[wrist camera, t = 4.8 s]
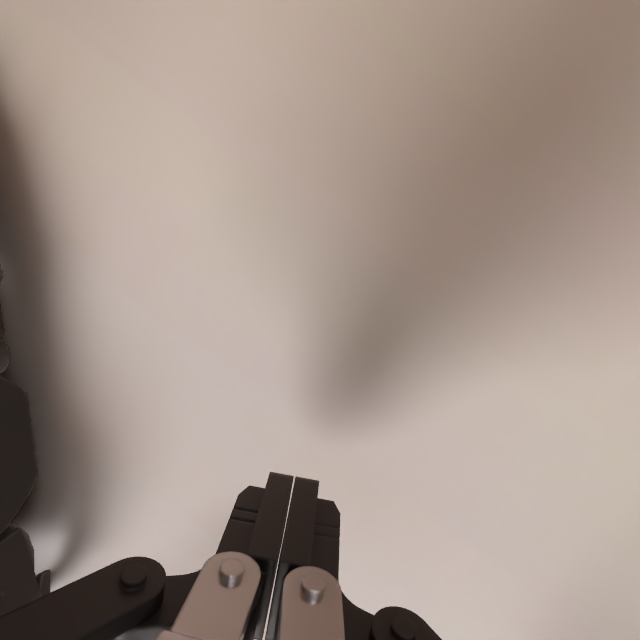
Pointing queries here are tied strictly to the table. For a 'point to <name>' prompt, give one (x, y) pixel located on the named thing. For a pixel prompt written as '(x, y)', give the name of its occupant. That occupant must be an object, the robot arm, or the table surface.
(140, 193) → the table surface
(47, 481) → the table surface
